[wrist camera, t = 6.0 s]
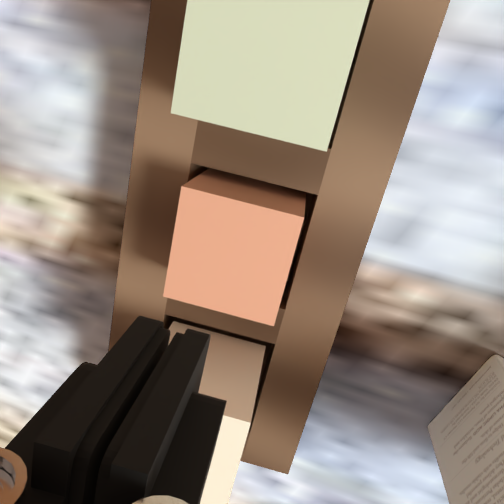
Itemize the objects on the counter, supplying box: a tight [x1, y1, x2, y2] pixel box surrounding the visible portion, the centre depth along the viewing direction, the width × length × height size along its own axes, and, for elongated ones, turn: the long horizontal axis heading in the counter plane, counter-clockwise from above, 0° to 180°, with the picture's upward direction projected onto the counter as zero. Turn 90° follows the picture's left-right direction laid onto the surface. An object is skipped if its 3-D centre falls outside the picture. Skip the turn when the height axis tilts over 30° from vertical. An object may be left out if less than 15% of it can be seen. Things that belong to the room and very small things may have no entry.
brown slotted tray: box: [108, 0, 450, 474], centre depth 19 cm, size 23×10×3 cm, turn 167°
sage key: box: [171, 0, 370, 152], centre depth 13 cm, size 4×4×5 cm
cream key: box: [168, 321, 266, 504], centre depth 18 cm, size 4×4×5 cm
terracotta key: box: [163, 168, 306, 326], centre depth 18 cm, size 4×4×5 cm
